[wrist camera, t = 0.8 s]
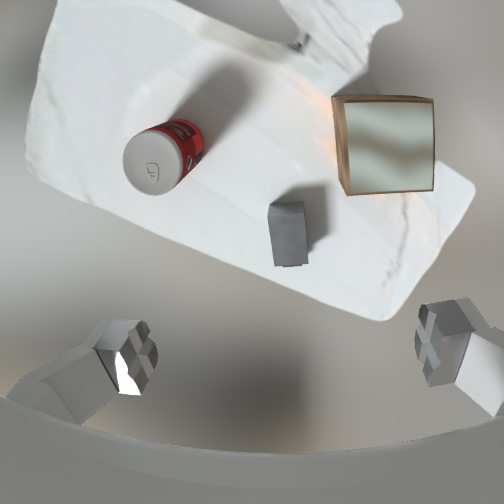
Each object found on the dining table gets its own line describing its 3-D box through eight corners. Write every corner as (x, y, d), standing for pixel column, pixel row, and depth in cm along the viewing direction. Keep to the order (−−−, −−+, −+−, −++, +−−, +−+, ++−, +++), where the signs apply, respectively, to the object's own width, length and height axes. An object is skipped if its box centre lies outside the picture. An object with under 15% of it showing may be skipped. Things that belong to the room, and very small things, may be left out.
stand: (331, 96, 37) (339, 99, 31) (412, 95, 35) (435, 99, 29) (338, 179, 43) (347, 197, 37) (415, 175, 41) (435, 192, 35)
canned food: (168, 177, 46) (138, 204, 37) (148, 130, 42) (111, 146, 33) (213, 160, 44) (192, 184, 35) (193, 110, 40) (165, 119, 31)
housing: (269, 204, 47) (267, 216, 43) (302, 201, 46) (304, 213, 42) (277, 259, 51) (275, 275, 47) (307, 257, 50) (309, 272, 47)
